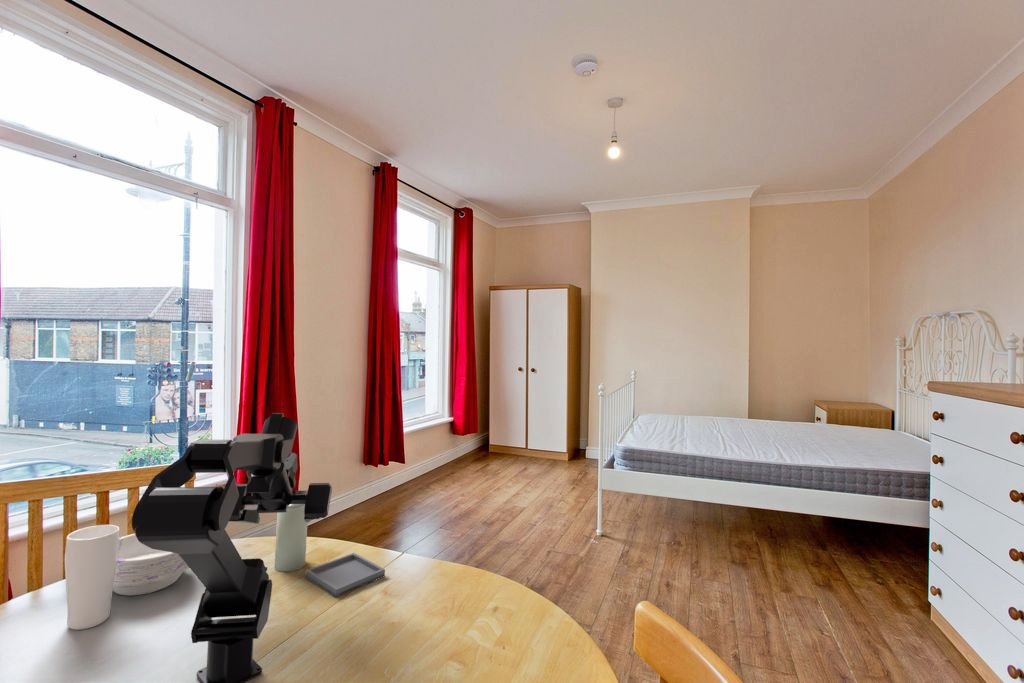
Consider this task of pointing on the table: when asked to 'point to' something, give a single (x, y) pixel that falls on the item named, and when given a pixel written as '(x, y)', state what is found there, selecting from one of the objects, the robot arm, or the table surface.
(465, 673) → the table surface
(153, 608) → the table surface
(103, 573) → the white vase
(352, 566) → the tray
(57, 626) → the table surface
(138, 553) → the paper bowls
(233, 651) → the robot arm
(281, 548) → the domed cap cylinder
